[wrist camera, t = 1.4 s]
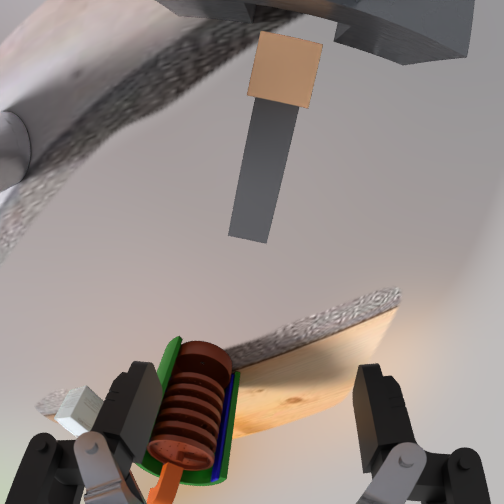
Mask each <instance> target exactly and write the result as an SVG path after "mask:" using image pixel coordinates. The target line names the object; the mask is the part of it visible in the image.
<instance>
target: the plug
mask: <svg viewBox="0 0 504 504" xmlns="http://www.w3.org/2000/svg"><path fill="white" fill-rule="evenodd" d="M322 47H323V44H319V43H315V42H311V41H307V40H303V39H299V38H294V37H290V36H285V35H280V34H275V33H270V32H264V31H261V32H260V37H259V41H258V46H257V51H256V55H255V60H254V64H253V68H252V73H251V78H250V82H249V87H248V92H247V95H248V96H253V97H255V102H254V106H253V112H252V116H251V121H250V126H249V131H248V136H247V141H246V145H245V150H244V155H243V160H242V165H241V170H240V175H239V180H238V186H237V191H236V196H235V201H234V207H233V212H232V217H231V223H230V228H229V233H228V236H233V237H238V238H242V239H247V240H252V241H256V242H261V243H267V239H268V235H269V231H270V227H271V223H272V219H273V215H274V210H275V207H276V202H277V198H278V194H279V190H280V186H281V182H282V178H283V173H284V169H285V165H286V161H287V156H288V152H289V148H290V144H291V140H292V135H293V131H294V127H295V123H296V118H297V114H298V110H299V107H304V108H308V107H309V103H310V99H311V95H312V90H313V86H314V81H315V77H316V73H317V69H318V64H319V60H320V56H321V51H322Z"/></svg>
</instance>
